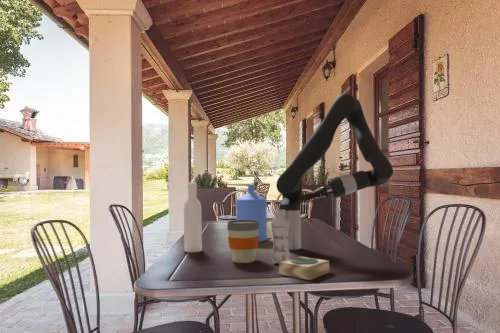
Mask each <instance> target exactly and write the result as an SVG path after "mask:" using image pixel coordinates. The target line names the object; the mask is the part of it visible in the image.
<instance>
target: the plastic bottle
mask: <svg viewBox="0 0 500 333" xmlns="http://www.w3.org/2000/svg"><path fill="white" fill-rule="evenodd" d="M288 229H289V222H288V220H287V219H286V217H285V210H284V209H280V208H277V209H274V218H273V220H272V221H271V231H272V239H273V240H272V241H273V242H272V252H271V253H272V254H271V260H272V263H274V264H278V265H279V262H281V261H284V260H288V259H291V256H290V250H289V249H288Z"/></svg>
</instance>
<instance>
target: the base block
mask: <svg viewBox="0 0 500 333" xmlns="http://www.w3.org/2000/svg"><path fill="white" fill-rule="evenodd" d="M278 274H279V275H282V276H287V277H293V278H297V279H302V280H308V281H311V280H314V279H317V278H319V277H322V276H324V275H327V274H330V260H328V259H327V260H326V259H322V258H321V259H320V258H314V257H308V256H300V255H298V256H296V257H293V258H290V259H288V260H284V261H281V262H279V264H278Z"/></svg>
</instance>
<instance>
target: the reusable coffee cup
mask: <svg viewBox="0 0 500 333" xmlns="http://www.w3.org/2000/svg"><path fill="white" fill-rule="evenodd" d="M226 230H227V231H228V233H227V234H228V236H227V239H228V245H229V246H228V247H229V249H230V253H231V259H232V260H231V261H232V263H237V264H239V263H240V264H248V263H253V262H255V261H256V257H257V256H256V254H257V248H259V242H258V240H259V236H258V230H259V221H256V220H236V219H235V220H234V219H233V220H229V221H227V227H226Z"/></svg>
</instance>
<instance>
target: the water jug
mask: <svg viewBox="0 0 500 333" xmlns="http://www.w3.org/2000/svg"><path fill="white" fill-rule="evenodd" d="M247 187H248V188H247V193H246V194H243V195H241V196H240V197H237V198H236V200H235V209H236V211H235V215H236V217H235V218H236V219H235V220H256V221H259V230H258V236H259V240H258V243H262V242H266V241H267V240H268V233H267V229H268V228H267V227H268V225H267V223H268V218H267V216H268V215H267V198H266V197H263V196H261V195H259V194H257V193H255V184H248V185H247Z"/></svg>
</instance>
